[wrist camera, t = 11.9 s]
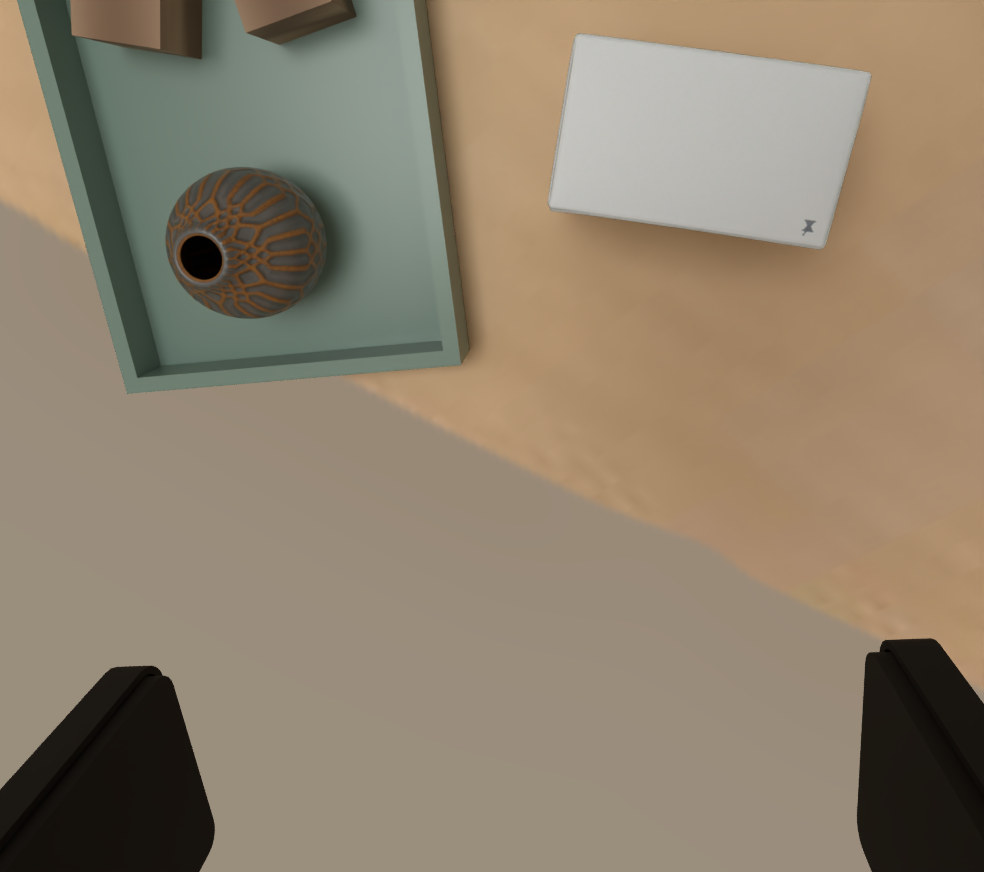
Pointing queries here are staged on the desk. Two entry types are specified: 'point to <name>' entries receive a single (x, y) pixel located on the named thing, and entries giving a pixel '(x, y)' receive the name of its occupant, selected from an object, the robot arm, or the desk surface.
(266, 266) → the vase
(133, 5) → the walnut cube
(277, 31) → the walnut cube
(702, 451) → the desk surface
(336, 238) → the tray
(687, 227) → the skincare box
